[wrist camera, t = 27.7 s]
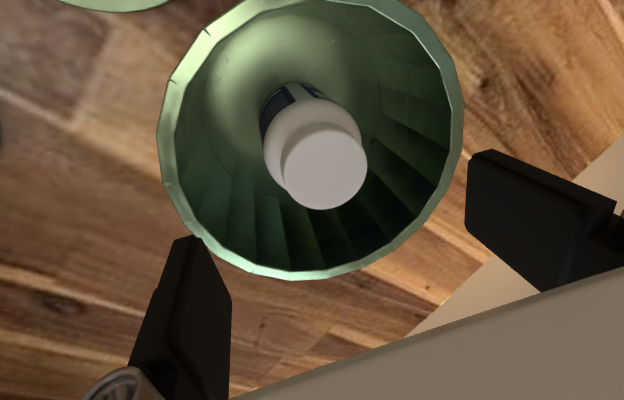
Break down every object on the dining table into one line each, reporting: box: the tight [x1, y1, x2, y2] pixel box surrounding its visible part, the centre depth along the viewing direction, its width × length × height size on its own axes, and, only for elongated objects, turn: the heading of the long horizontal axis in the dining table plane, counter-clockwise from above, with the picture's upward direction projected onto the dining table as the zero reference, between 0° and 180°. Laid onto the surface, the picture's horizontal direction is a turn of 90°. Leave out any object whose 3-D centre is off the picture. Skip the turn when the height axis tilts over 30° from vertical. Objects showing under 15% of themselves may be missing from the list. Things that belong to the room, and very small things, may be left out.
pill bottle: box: [259, 82, 367, 210], centre depth 18 cm, size 5×5×10 cm
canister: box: [156, 0, 465, 281], centre depth 18 cm, size 14×14×10 cm
